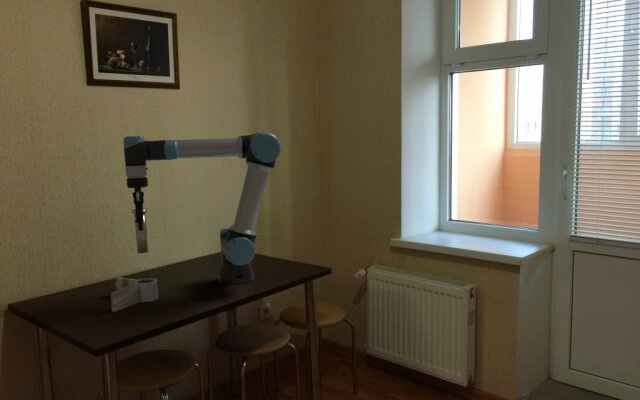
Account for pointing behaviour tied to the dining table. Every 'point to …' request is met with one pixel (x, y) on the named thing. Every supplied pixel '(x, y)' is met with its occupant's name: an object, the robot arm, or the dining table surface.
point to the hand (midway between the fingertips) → (141, 237)
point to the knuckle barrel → (147, 289)
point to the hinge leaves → (124, 294)
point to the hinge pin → (143, 243)
